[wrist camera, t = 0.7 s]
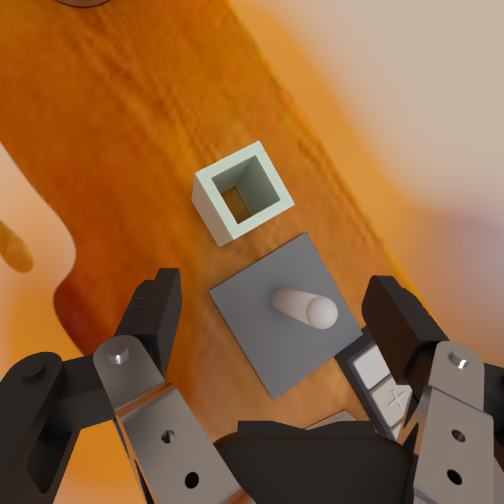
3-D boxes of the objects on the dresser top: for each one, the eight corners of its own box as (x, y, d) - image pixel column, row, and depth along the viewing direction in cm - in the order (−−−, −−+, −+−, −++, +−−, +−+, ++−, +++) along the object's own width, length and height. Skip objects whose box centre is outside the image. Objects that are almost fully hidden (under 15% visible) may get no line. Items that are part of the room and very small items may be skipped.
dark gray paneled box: (409, 471, 34) (350, 363, 32) (383, 447, 38) (330, 350, 36) (475, 411, 36) (423, 307, 34) (444, 395, 40) (396, 301, 39)
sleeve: (191, 200, 33) (194, 173, 23) (237, 175, 34) (259, 140, 25) (218, 247, 33) (233, 239, 24) (263, 221, 35) (294, 204, 25)
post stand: (207, 290, 33) (221, 305, 21) (302, 233, 36) (362, 216, 24) (270, 396, 34) (318, 467, 22) (357, 332, 37) (441, 363, 25)
